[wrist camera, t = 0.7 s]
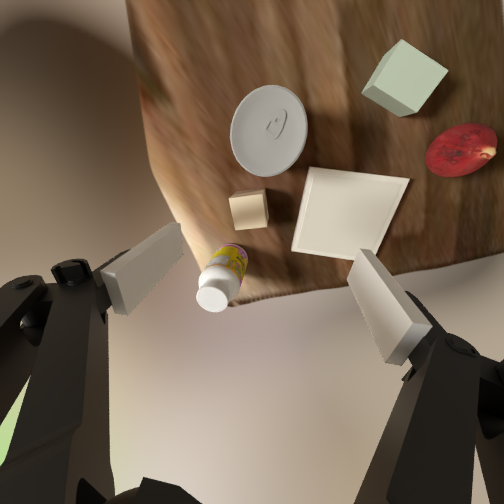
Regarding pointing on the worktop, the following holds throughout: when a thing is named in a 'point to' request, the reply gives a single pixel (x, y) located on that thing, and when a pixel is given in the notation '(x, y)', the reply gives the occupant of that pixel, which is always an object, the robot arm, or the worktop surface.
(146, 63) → the worktop surface
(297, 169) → the worktop surface
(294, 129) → the canned food
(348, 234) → the tray
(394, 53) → the sage block
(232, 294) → the supplement bottle
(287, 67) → the worktop surface
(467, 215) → the worktop surface
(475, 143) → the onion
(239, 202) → the beech block
